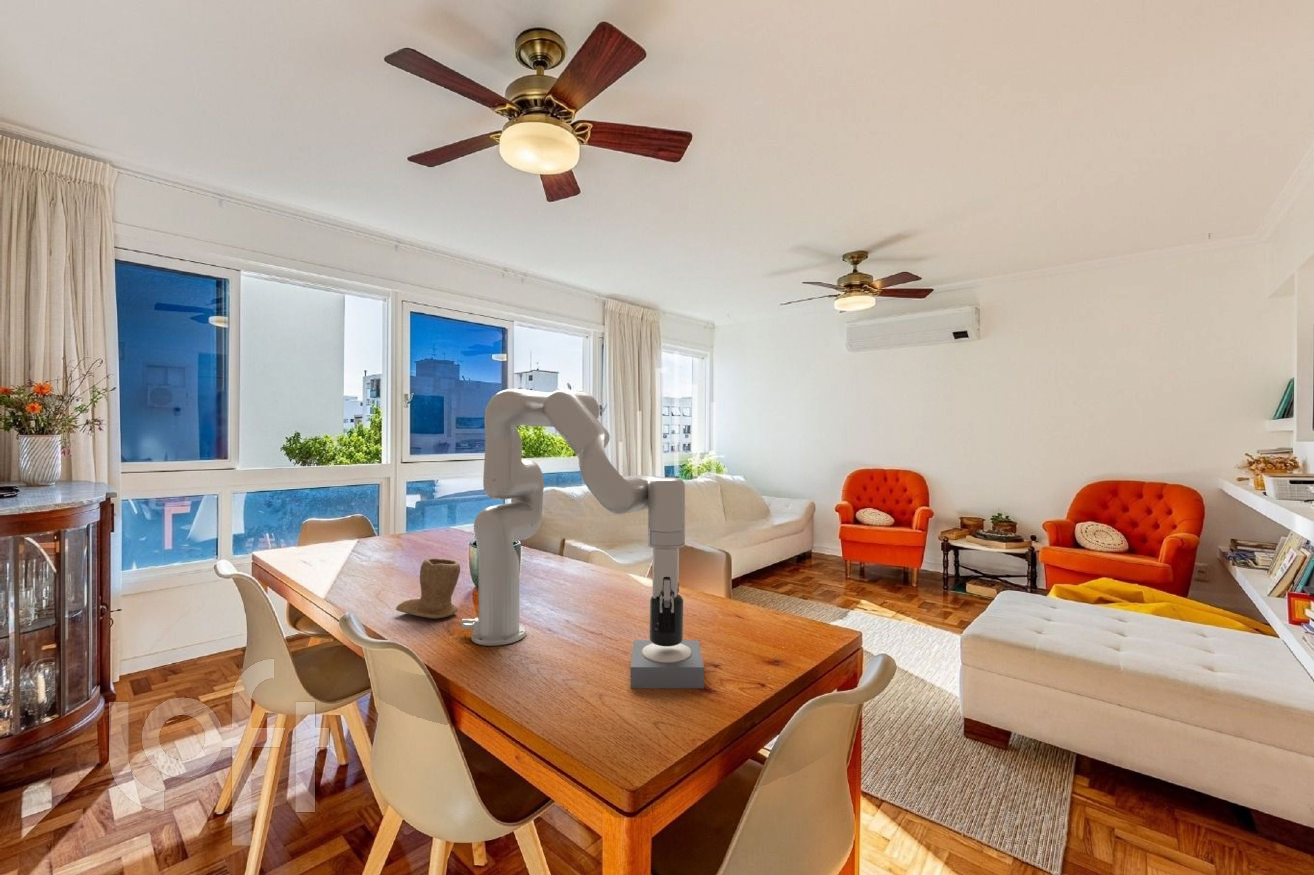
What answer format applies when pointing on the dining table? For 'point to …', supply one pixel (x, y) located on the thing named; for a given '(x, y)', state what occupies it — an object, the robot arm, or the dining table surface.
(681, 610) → the supplement bottle
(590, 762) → the dining table surface
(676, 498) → the robot arm
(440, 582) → the tan flared hollow piece
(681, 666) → the plinth
